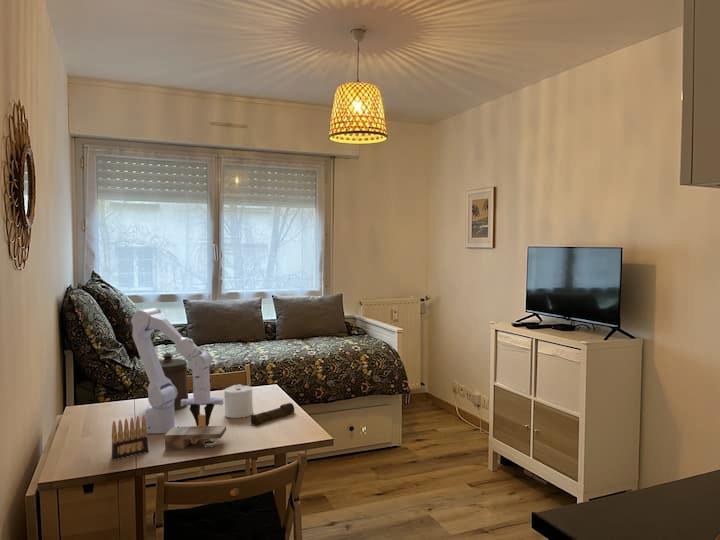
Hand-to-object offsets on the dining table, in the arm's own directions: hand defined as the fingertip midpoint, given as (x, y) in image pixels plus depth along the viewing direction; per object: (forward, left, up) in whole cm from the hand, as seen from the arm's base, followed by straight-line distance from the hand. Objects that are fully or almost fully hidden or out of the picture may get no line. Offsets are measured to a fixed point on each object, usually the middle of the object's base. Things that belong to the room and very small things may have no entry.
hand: (202, 425), depth 195 cm
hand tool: (+23, +14, -3) cm, 27 cm away
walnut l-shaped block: (+1, -13, -2) cm, 13 cm away
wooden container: (-23, +33, -3) cm, 40 cm away
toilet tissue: (+8, +20, -3) cm, 22 cm away
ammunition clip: (-18, -20, -3) cm, 27 cm away
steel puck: (+6, -13, -3) cm, 14 cm away
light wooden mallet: (0, -5, -2) cm, 6 cm away
